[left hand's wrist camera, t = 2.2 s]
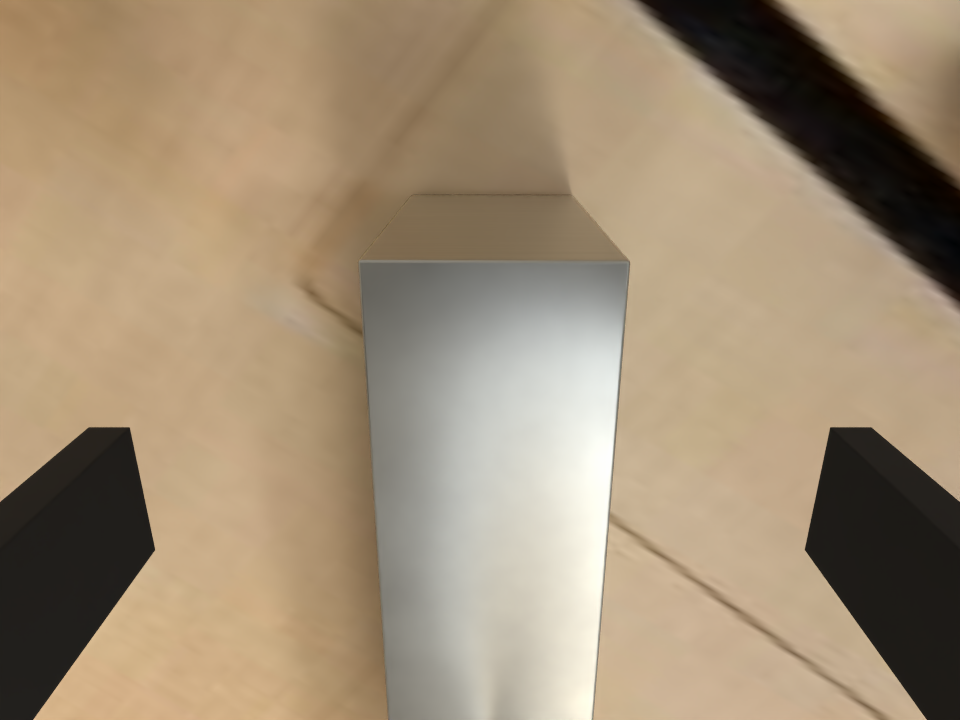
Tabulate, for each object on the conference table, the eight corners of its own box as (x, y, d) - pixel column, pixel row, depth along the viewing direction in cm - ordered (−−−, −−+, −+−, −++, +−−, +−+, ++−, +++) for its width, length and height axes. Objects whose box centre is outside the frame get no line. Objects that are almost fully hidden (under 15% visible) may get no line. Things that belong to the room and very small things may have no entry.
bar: (411, 194, 21) (357, 259, 12) (573, 194, 21) (630, 260, 12) (431, 757, 30) (407, 1023, 21) (545, 759, 30) (568, 1025, 21)
